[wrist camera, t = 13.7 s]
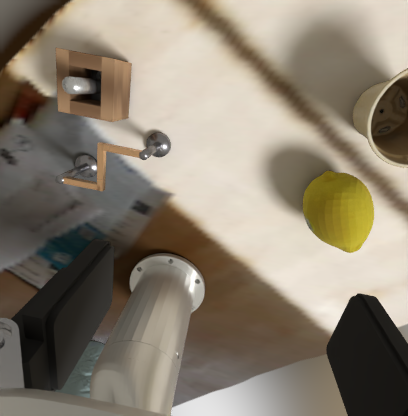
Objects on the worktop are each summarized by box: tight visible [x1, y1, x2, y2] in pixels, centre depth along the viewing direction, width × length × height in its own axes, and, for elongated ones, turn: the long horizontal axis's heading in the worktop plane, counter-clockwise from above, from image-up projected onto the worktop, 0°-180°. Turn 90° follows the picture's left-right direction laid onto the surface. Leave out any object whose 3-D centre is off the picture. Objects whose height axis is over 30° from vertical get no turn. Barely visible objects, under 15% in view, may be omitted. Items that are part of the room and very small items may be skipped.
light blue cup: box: [55, 341, 105, 398], centre depth 50 cm, size 10×10×12 cm
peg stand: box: [62, 69, 102, 101], centre depth 31 cm, size 4×4×9 cm
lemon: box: [303, 171, 374, 253], centre depth 34 cm, size 11×8×8 cm
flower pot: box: [353, 68, 408, 168], centre depth 29 cm, size 9×9×9 cm
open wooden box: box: [56, 48, 132, 122], centre depth 32 cm, size 6×6×5 cm
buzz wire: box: [56, 132, 171, 191], centre depth 35 cm, size 5×14×7 cm, turn 116°
